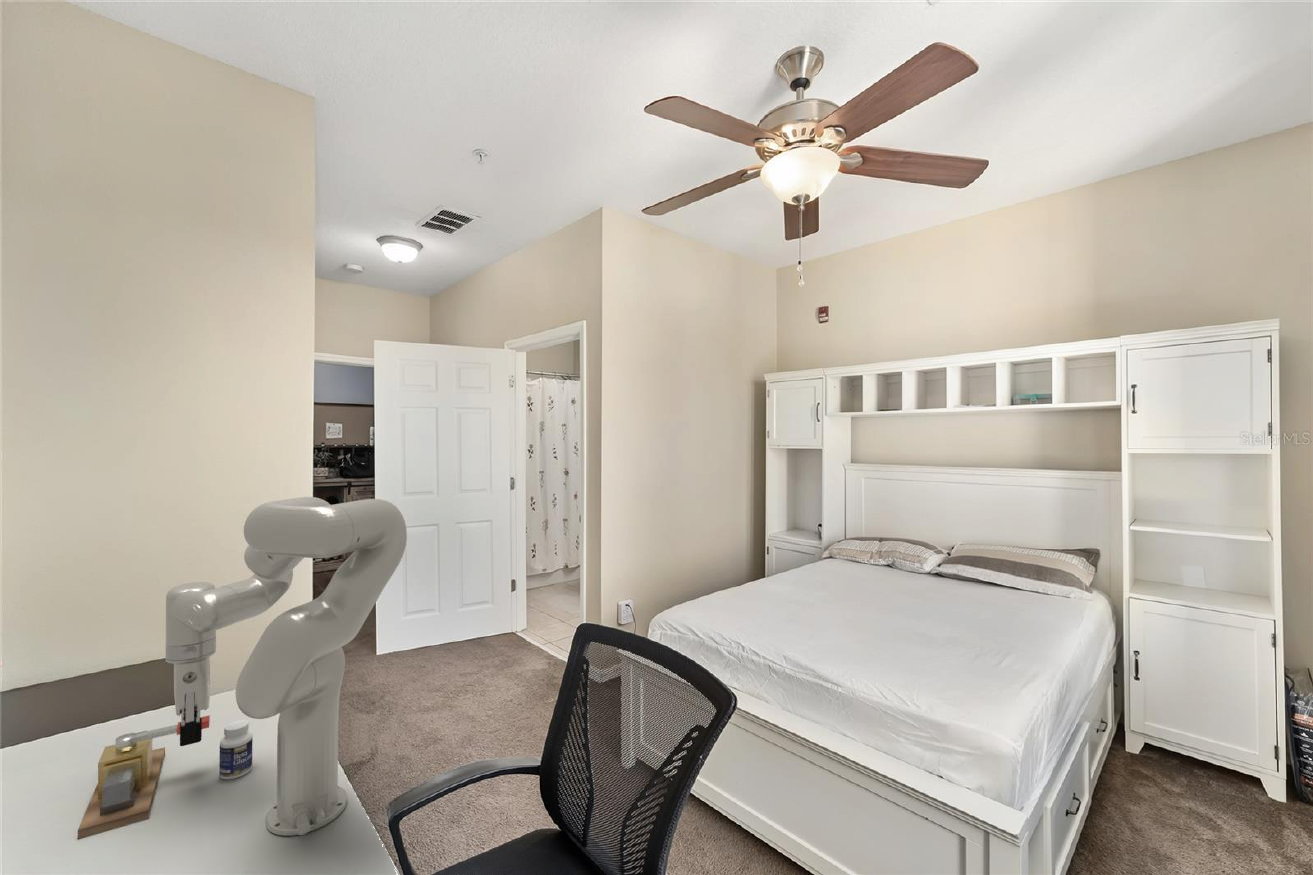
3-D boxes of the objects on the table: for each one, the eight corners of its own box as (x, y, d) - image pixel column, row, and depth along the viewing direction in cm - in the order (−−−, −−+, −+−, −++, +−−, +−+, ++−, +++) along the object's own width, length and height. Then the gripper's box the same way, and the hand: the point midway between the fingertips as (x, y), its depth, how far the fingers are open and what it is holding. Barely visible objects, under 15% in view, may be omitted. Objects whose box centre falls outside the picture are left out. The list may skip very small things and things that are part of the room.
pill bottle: (234, 782, 112) (234, 733, 112) (212, 778, 113) (212, 730, 113) (259, 766, 117) (259, 719, 117) (237, 762, 118) (237, 716, 118)
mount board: (148, 818, 101) (148, 810, 101) (77, 839, 96) (77, 830, 96) (165, 754, 121) (165, 747, 121) (107, 768, 116) (107, 761, 116)
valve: (141, 806, 102) (141, 769, 102) (89, 821, 98) (89, 782, 98) (156, 753, 118) (157, 721, 118) (112, 764, 115) (112, 731, 114)
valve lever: (114, 753, 106) (114, 742, 106) (117, 746, 109) (117, 735, 109) (208, 731, 114) (208, 721, 114) (209, 724, 117) (209, 714, 117)
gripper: (215, 656, 105) (214, 754, 106) (216, 632, 117) (216, 720, 118) (162, 666, 101) (161, 768, 101) (168, 640, 113) (168, 731, 113)
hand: (190, 742), depth 109 cm, fingers closed
